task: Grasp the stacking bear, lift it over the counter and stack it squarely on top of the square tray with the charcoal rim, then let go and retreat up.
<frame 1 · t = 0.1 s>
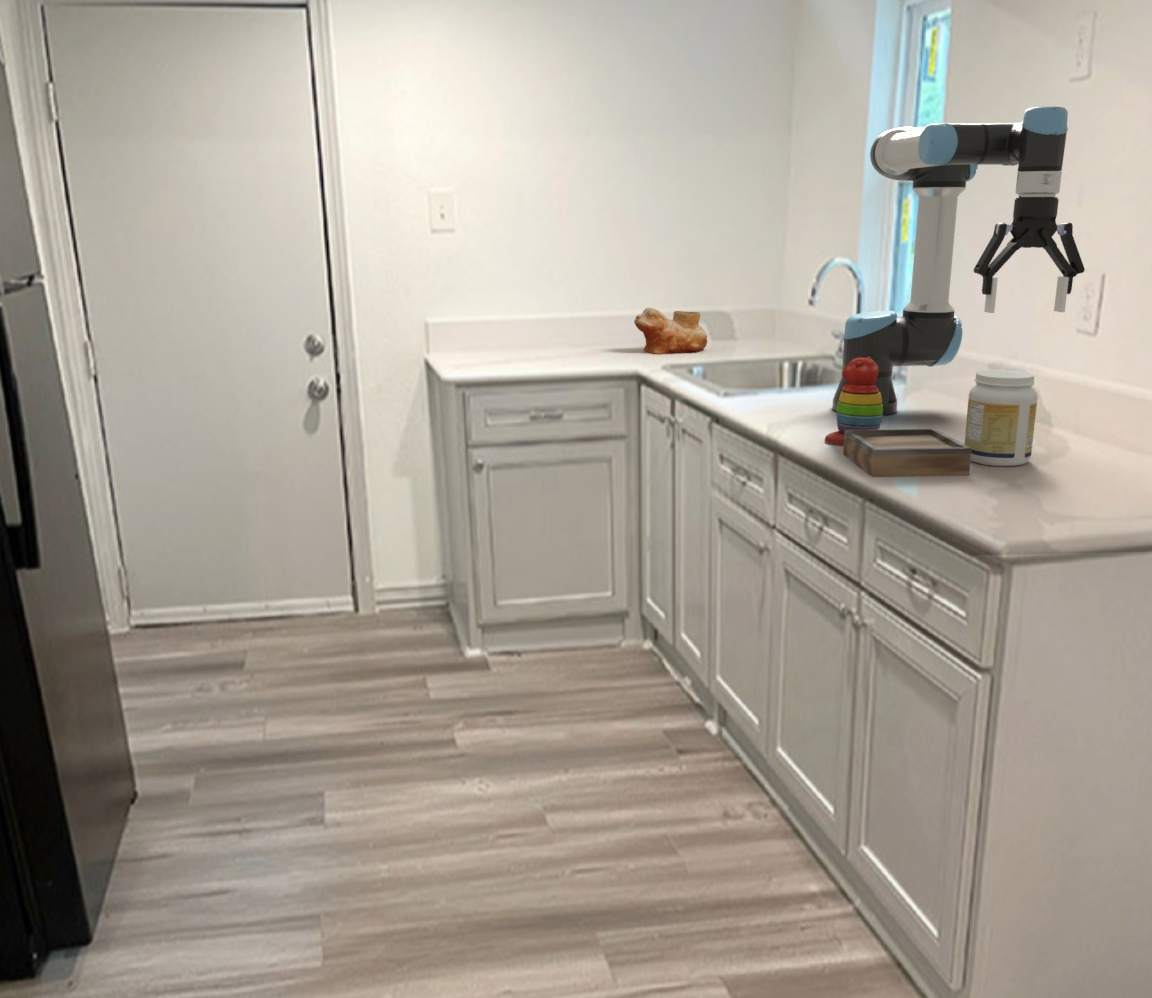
hand: (1024, 312, 199), 28 cm above the worktop, fingers open, 13 cm apart
ceramic vessel: (670, 352, 358), on the worktop
supplement tub: (996, 461, 203), on the worktop
square tray: (903, 464, 200), on the worktop
stacking bear: (855, 443, 219), on the worktop
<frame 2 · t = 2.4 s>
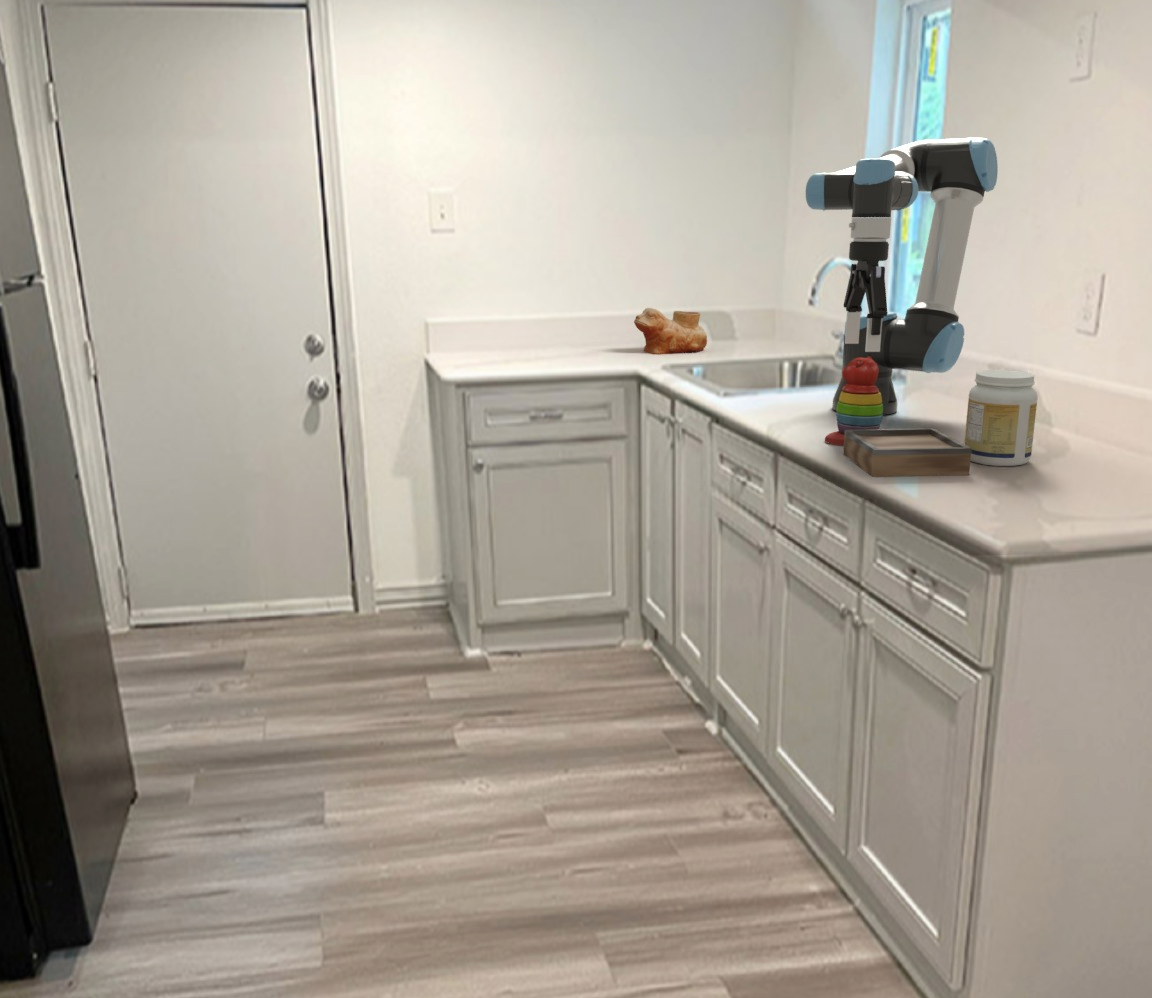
hand: (861, 347, 214), 20 cm above the worktop, fingers open, 13 cm apart
nothing on the worktop moved.
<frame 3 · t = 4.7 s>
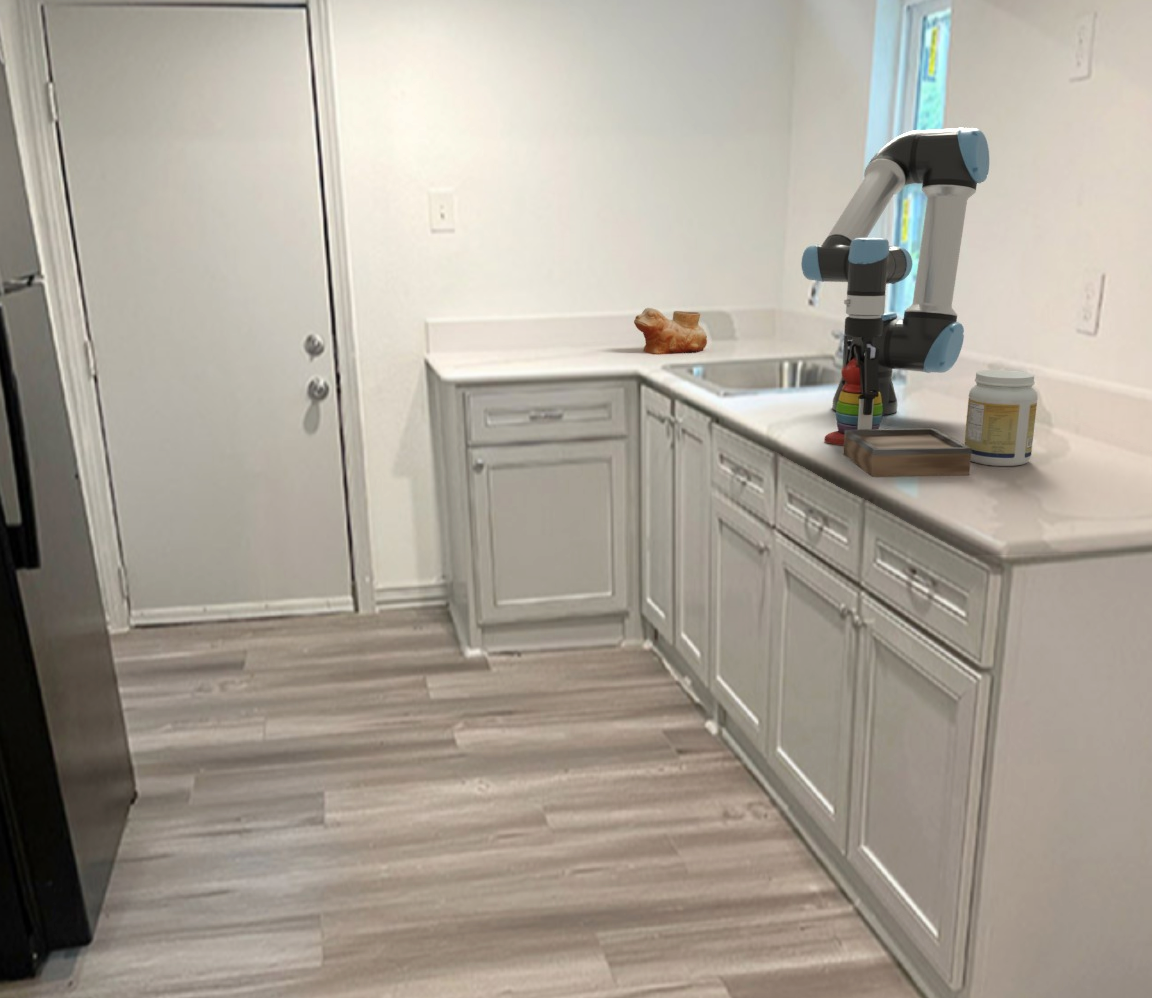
hand: (856, 425, 218), 4 cm above the worktop, fingers closed on stacking bear, 9 cm apart
stacking bear: (855, 442, 219), on the worktop, touching gripper
everything else where it was.
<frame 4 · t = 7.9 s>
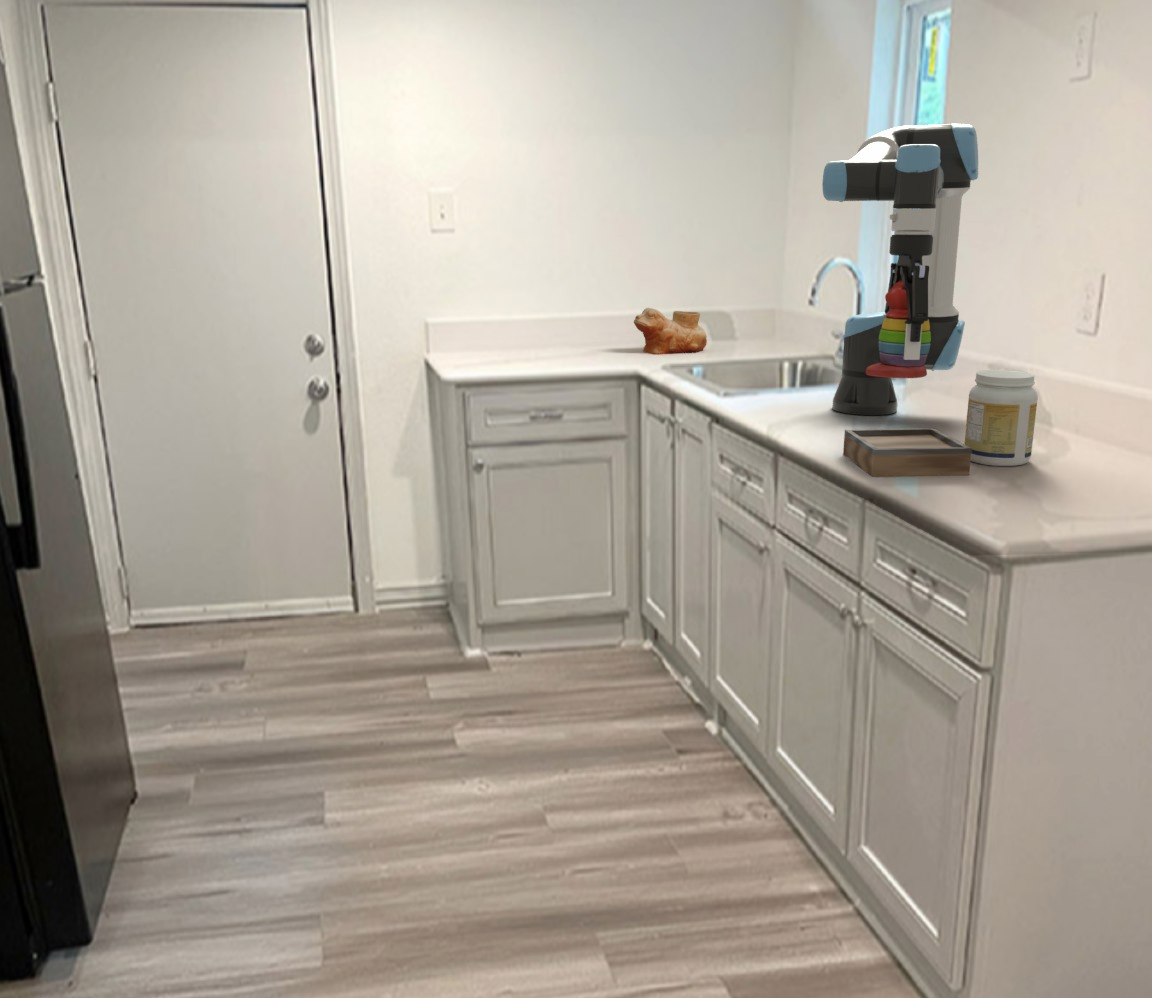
hand: (902, 356, 197), 20 cm above the worktop, fingers closed on stacking bear, 9 cm apart
stacking bear: (899, 375, 199), point 16 cm above the worktop, touching gripper
everything else where it was.
when the fingers open (9 cm above the worktop, at t = 11.1 s): stacking bear drops 1 cm, resting on square tray.
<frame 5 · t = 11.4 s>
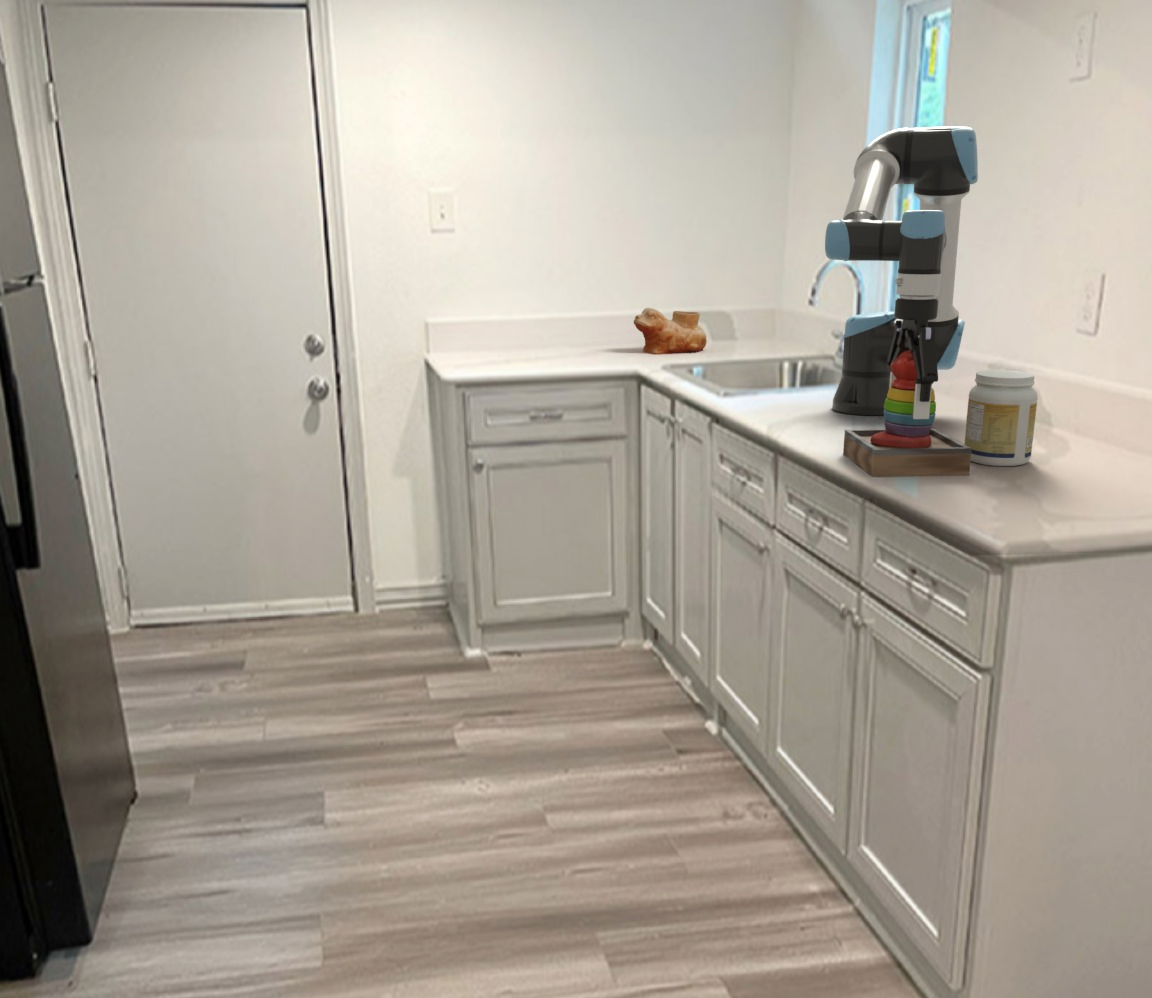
hand: (907, 412, 197), 10 cm above the worktop, fingers open, 13 cm apart
stacking bear: (904, 444, 199), point 4 cm above the worktop, touching square tray
everything else where it was.
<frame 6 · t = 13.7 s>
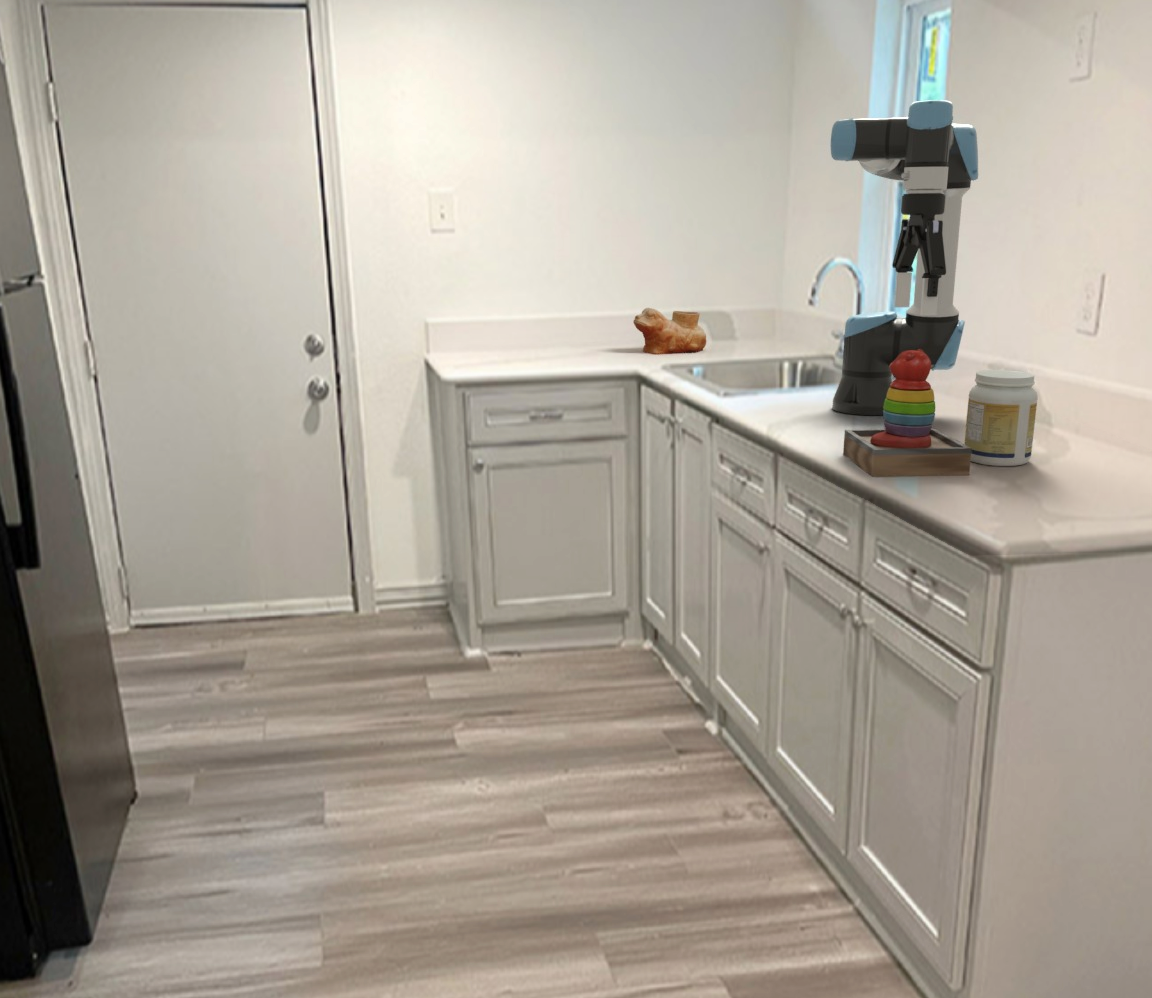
hand: (914, 311, 195), 29 cm above the worktop, fingers open, 13 cm apart
nothing on the worktop moved.
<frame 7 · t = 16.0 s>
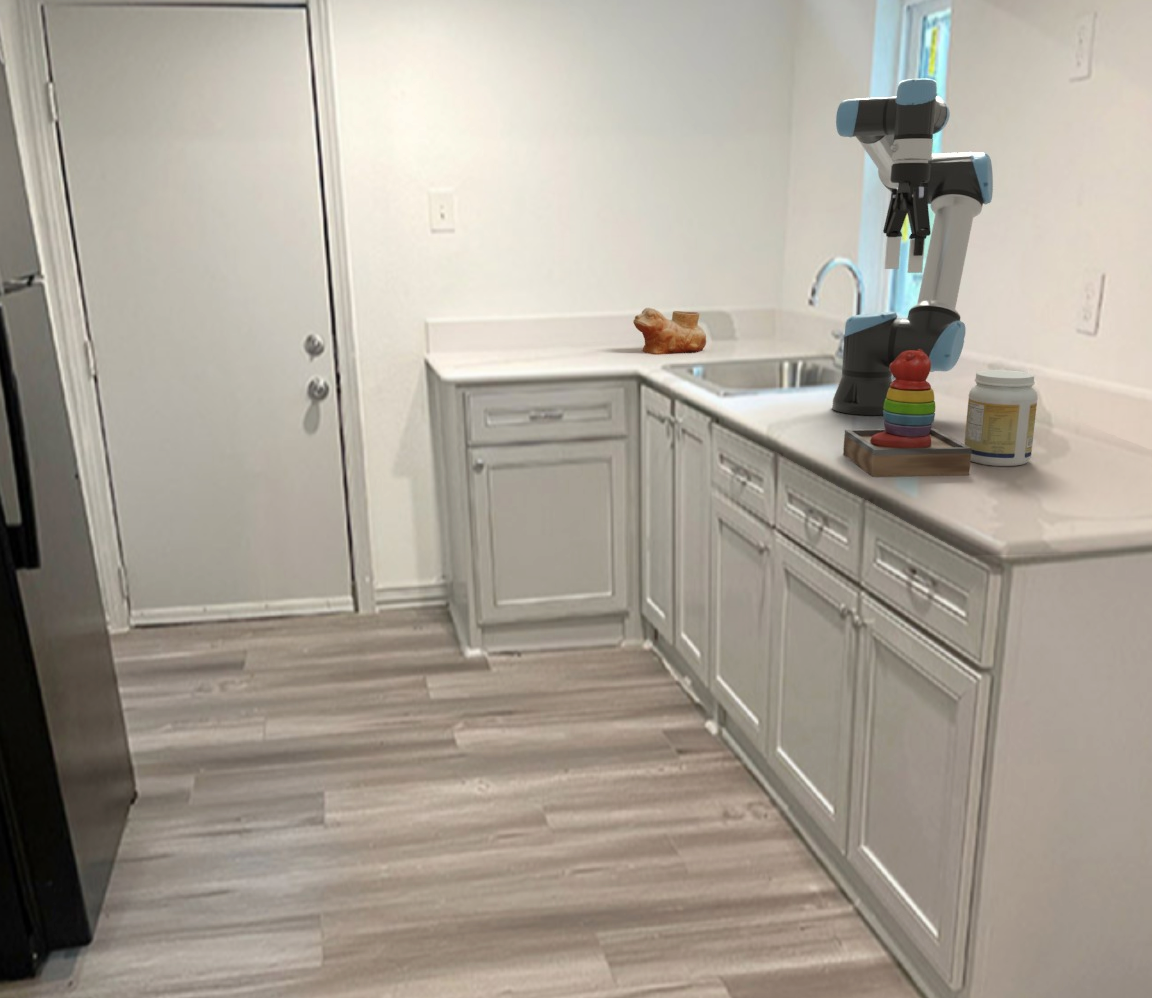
hand: (902, 271, 215), 35 cm above the worktop, fingers open, 13 cm apart
nothing on the worktop moved.
at the end: stacking bear inside the target area on the square tray (0.3 cm from its centre), point 3.8 cm above the square tray's base; stacking bear tilted 0°; the gripper is holding nothing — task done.
